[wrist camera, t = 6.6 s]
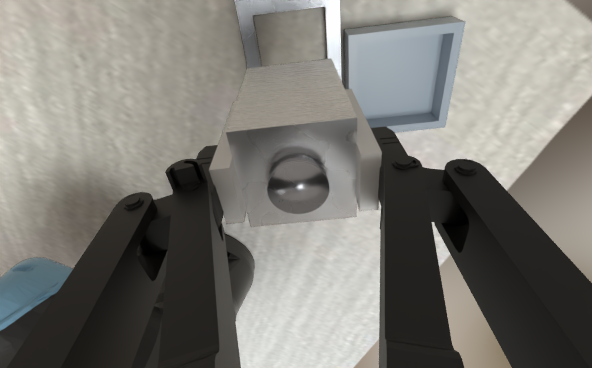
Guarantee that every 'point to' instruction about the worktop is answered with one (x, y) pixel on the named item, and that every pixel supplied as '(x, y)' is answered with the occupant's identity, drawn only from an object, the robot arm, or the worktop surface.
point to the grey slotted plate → (257, 3)
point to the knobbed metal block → (294, 144)
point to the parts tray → (404, 71)
